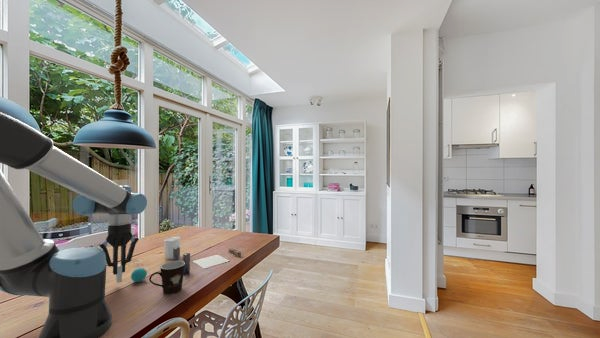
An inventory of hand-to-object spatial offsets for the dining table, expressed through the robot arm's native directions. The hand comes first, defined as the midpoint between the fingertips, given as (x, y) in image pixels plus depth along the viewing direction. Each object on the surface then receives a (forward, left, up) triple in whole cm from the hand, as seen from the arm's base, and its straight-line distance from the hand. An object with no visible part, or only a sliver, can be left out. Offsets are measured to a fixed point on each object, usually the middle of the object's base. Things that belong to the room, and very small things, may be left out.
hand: (118, 281), depth 93 cm
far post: (+6, -24, -2) cm, 25 cm away
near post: (-7, -24, -2) cm, 25 cm away
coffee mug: (-18, -13, -2) cm, 22 cm away
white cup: (+22, -27, -2) cm, 34 cm away
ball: (0, -7, +1) cm, 7 cm away
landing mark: (0, -39, -2) cm, 39 cm away
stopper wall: (0, -53, -2) cm, 53 cm away
